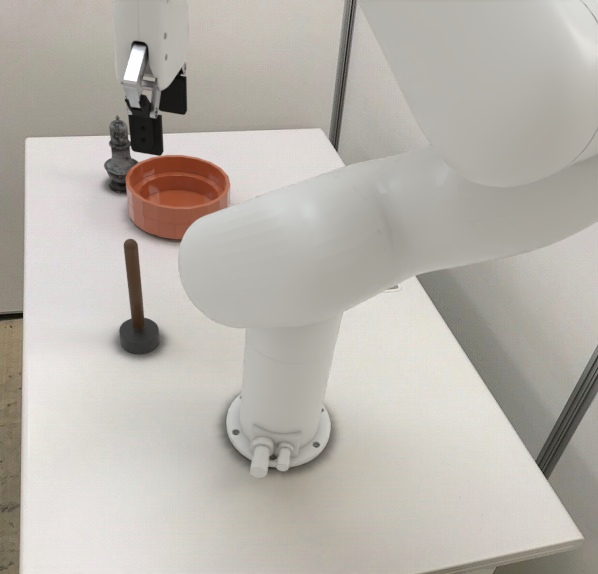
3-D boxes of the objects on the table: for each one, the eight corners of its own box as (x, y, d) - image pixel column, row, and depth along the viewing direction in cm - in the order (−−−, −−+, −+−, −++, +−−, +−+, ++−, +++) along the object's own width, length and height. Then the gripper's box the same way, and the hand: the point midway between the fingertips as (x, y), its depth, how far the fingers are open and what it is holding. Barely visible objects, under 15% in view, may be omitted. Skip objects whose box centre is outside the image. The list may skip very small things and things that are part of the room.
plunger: (153, 356, 83) (146, 256, 72) (115, 350, 83) (101, 249, 72) (163, 331, 87) (157, 231, 75) (126, 325, 87) (115, 224, 75)
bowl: (218, 249, 100) (219, 215, 96) (116, 233, 100) (112, 198, 96) (236, 196, 111) (237, 163, 107) (144, 181, 111) (141, 148, 107)
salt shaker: (99, 188, 108) (90, 118, 99) (116, 172, 112) (109, 103, 103) (131, 197, 107) (125, 127, 99) (147, 181, 111) (142, 112, 102)
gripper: (137, -89, 62) (149, 93, 74) (72, -42, 50) (98, 164, 63) (214, -76, 62) (212, 103, 74) (166, -26, 50) (174, 176, 63)
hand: (160, 131), depth 68 cm, fingers open, 9 cm apart
